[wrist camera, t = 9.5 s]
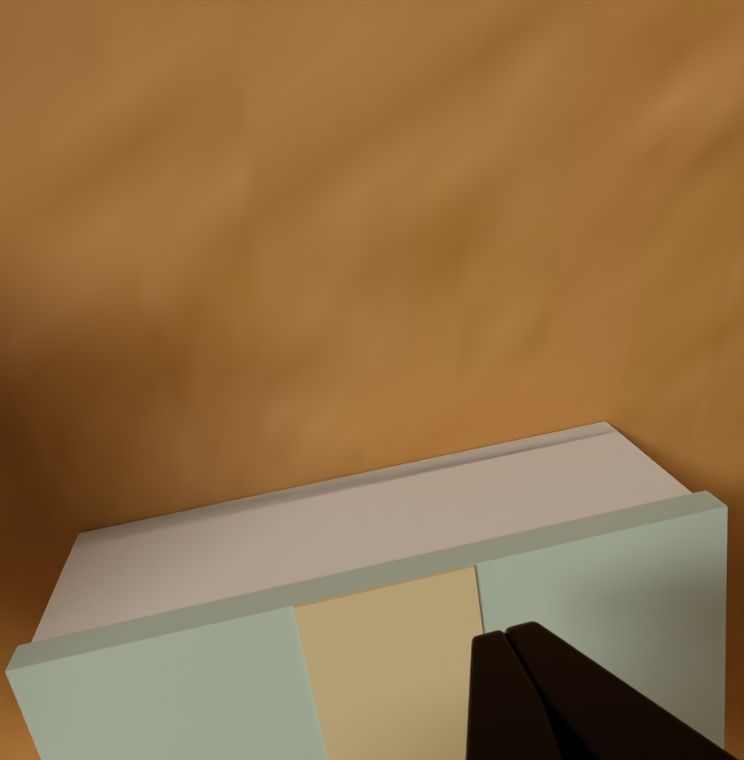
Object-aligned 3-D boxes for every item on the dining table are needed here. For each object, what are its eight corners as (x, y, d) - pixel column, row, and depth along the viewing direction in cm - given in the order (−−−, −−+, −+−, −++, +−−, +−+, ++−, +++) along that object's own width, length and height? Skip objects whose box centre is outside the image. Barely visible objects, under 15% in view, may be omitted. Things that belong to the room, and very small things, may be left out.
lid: (706, 490, 17) (730, 508, 16) (705, 746, 19) (726, 772, 19) (17, 645, 15) (3, 674, 14) (118, 899, 18) (111, 937, 17)
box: (605, 421, 22) (701, 500, 17) (613, 628, 25) (697, 745, 20) (78, 533, 20) (26, 653, 16) (151, 740, 23) (125, 895, 18)
